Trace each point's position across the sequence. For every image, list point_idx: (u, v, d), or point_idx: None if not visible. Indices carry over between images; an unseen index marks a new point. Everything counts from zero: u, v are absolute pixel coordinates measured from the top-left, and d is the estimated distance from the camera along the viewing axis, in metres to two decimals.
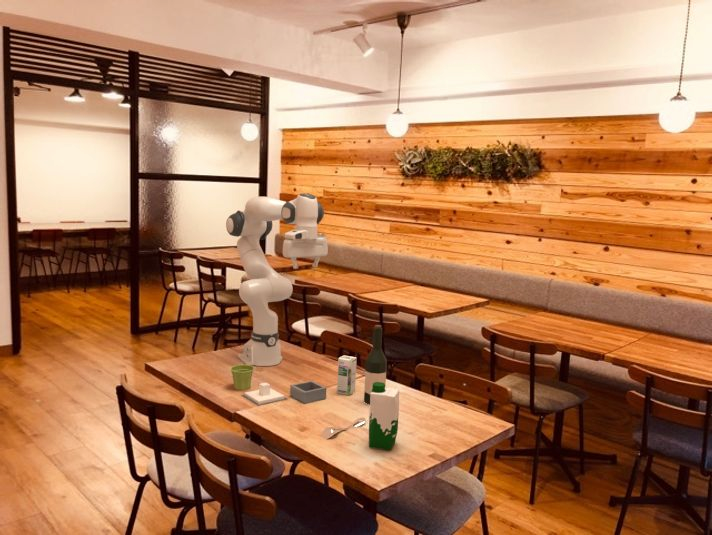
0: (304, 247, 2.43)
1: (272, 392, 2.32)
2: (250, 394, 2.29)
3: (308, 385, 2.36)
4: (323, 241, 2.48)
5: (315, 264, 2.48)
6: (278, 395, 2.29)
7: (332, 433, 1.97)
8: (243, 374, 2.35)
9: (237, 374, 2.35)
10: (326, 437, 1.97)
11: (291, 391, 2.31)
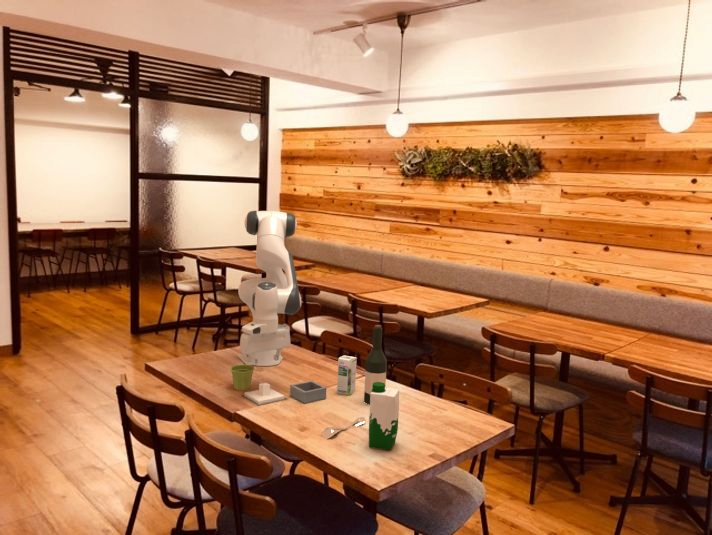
0: (263, 341, 2.24)
1: (272, 392, 2.32)
2: (250, 394, 2.29)
3: (308, 385, 2.36)
4: (284, 332, 2.30)
5: (276, 357, 2.30)
6: (278, 395, 2.29)
7: (332, 433, 1.97)
8: (243, 374, 2.35)
9: (237, 374, 2.35)
10: (326, 437, 1.97)
11: (291, 391, 2.31)
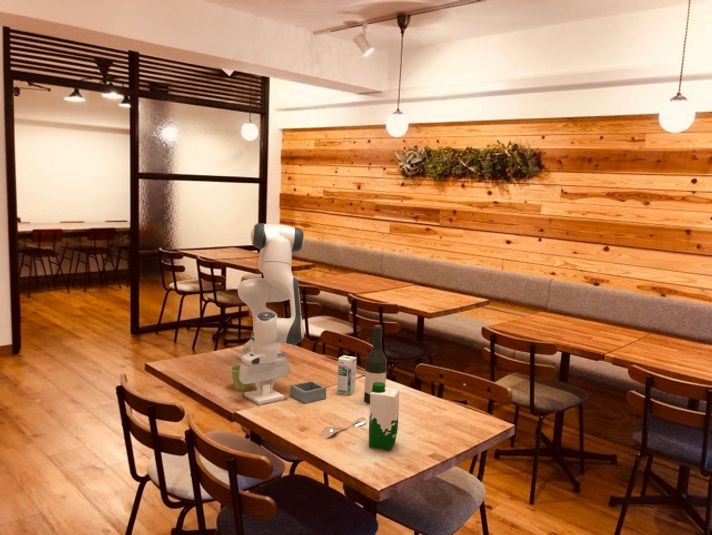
0: (262, 371, 2.26)
1: (272, 392, 2.32)
2: (250, 394, 2.29)
3: (308, 385, 2.36)
4: (283, 362, 2.31)
5: (270, 387, 2.30)
6: (278, 395, 2.29)
7: (331, 432, 1.97)
8: None
9: (237, 374, 2.35)
10: (325, 436, 1.97)
11: (291, 391, 2.31)
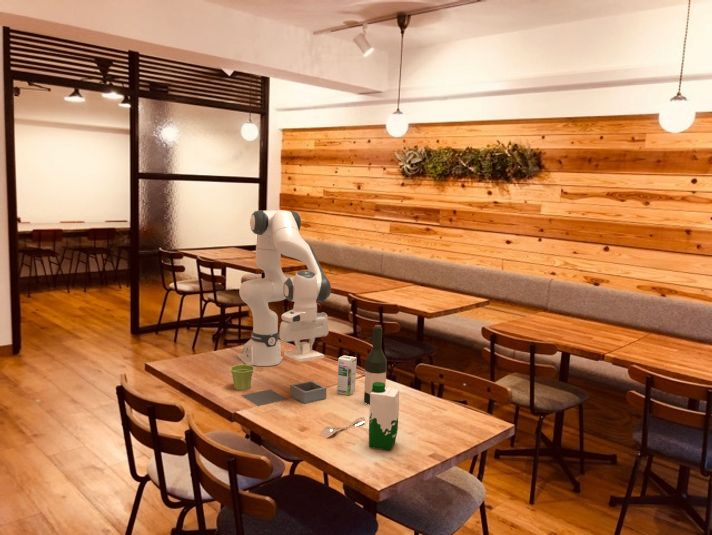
0: (302, 329, 2.25)
1: (311, 352, 2.31)
2: (290, 353, 2.28)
3: (308, 385, 2.36)
4: (323, 321, 2.30)
5: None
6: (318, 354, 2.28)
7: (331, 432, 1.97)
8: (243, 374, 2.35)
9: (237, 374, 2.35)
10: (325, 436, 1.97)
11: (291, 391, 2.31)
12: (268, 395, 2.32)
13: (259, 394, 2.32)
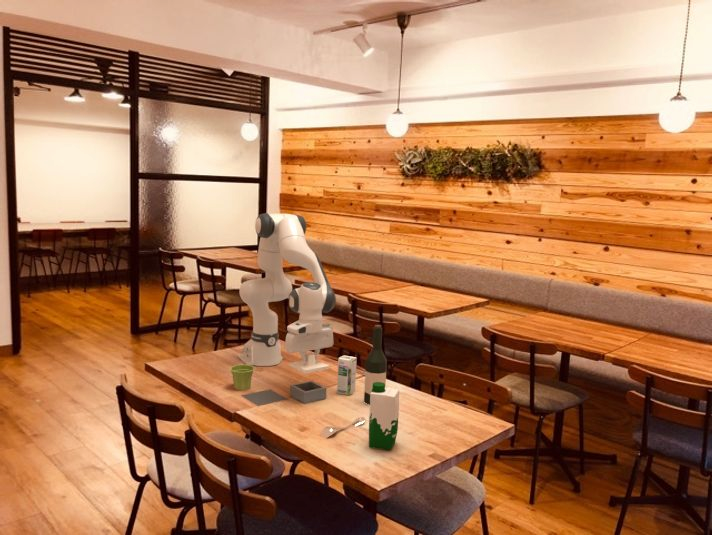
0: (308, 340, 2.26)
1: (317, 362, 2.32)
2: (295, 364, 2.29)
3: (308, 385, 2.36)
4: (328, 332, 2.31)
5: None
6: (324, 365, 2.29)
7: (331, 432, 1.97)
8: (243, 374, 2.35)
9: (237, 374, 2.35)
10: (325, 436, 1.97)
11: (291, 391, 2.31)
12: (268, 395, 2.32)
13: (259, 394, 2.32)
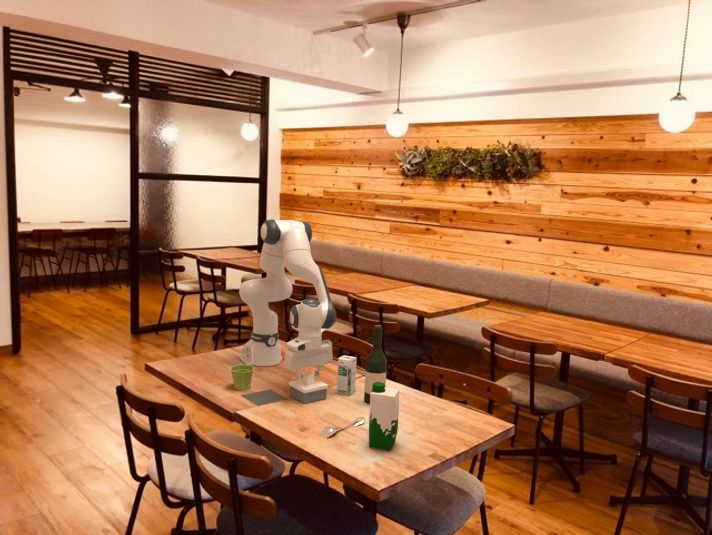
0: (307, 357, 2.27)
1: (316, 381, 2.33)
2: (294, 383, 2.30)
3: None
4: (327, 348, 2.32)
5: (318, 373, 2.32)
6: (323, 384, 2.30)
7: (331, 432, 1.98)
8: (243, 374, 2.35)
9: (237, 374, 2.35)
10: (325, 436, 1.97)
11: (291, 391, 2.31)
12: (268, 395, 2.32)
13: (259, 394, 2.32)
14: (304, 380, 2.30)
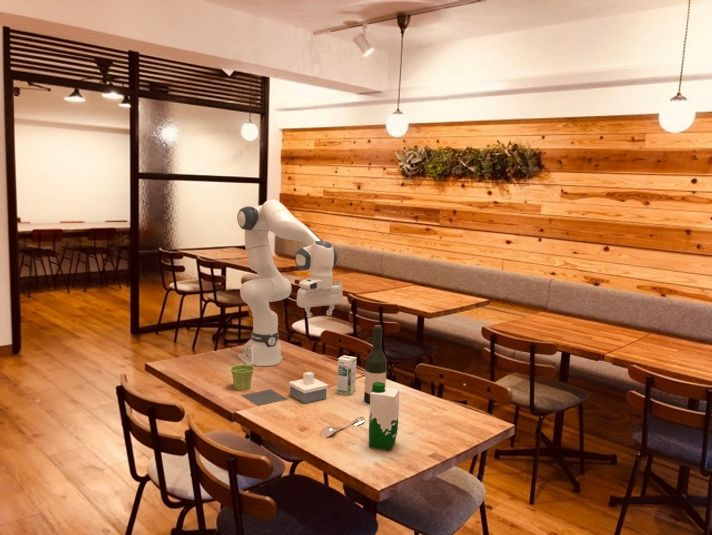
0: (319, 296, 2.37)
1: (316, 381, 2.33)
2: (294, 383, 2.30)
3: None
4: (338, 289, 2.42)
5: (329, 312, 2.42)
6: (323, 384, 2.30)
7: (331, 432, 1.98)
8: (243, 374, 2.35)
9: (237, 374, 2.35)
10: (325, 436, 1.98)
11: (291, 391, 2.31)
12: (268, 395, 2.32)
13: (259, 394, 2.32)
14: (304, 380, 2.30)
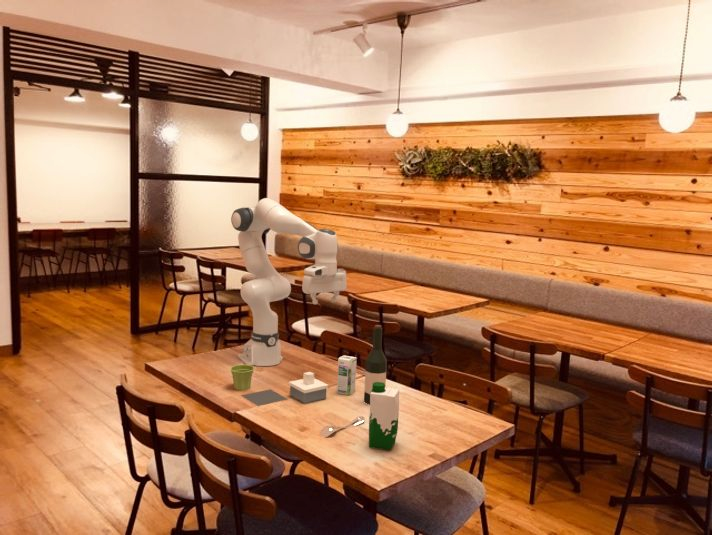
0: (324, 283, 2.42)
1: (316, 381, 2.33)
2: (294, 383, 2.30)
3: None
4: (342, 276, 2.47)
5: (334, 299, 2.48)
6: (323, 384, 2.30)
7: (331, 431, 1.98)
8: (243, 374, 2.35)
9: (237, 374, 2.35)
10: (325, 435, 1.98)
11: (291, 391, 2.31)
12: (268, 395, 2.32)
13: (259, 394, 2.32)
14: (304, 380, 2.30)
